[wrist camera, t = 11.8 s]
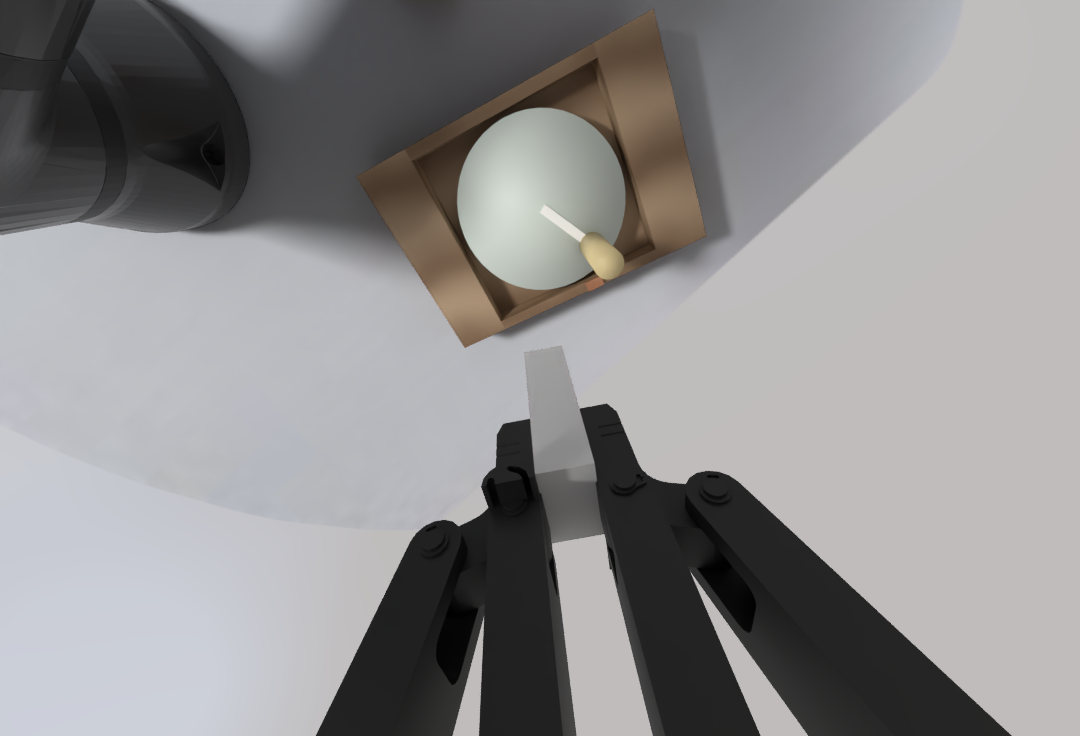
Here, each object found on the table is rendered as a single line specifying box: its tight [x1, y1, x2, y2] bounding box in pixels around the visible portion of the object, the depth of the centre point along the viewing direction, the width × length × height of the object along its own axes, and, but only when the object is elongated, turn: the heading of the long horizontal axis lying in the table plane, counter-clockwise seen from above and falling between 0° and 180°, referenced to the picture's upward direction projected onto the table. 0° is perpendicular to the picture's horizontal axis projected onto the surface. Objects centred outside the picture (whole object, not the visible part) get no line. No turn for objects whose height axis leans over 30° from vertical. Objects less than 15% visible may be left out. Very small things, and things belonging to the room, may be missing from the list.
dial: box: [457, 108, 625, 290], centre depth 27 cm, size 13×13×8 cm
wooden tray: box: [356, 9, 706, 348], centre depth 31 cm, size 15×22×4 cm
